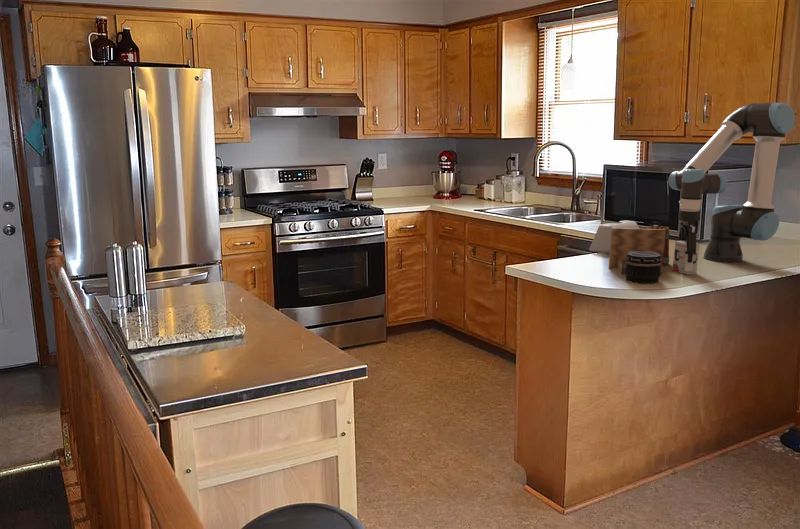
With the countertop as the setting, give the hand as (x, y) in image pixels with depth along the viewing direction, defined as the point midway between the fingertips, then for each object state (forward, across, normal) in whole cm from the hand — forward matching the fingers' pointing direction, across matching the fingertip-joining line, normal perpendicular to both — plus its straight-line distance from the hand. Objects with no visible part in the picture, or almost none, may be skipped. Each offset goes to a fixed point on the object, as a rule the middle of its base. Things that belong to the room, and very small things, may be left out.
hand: (684, 268), depth 275 cm
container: (+2, +19, -20) cm, 27 cm away
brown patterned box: (+2, +3, -18) cm, 18 cm away
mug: (+2, -19, -7) cm, 20 cm away
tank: (+2, -46, -17) cm, 49 cm away
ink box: (+2, 0, 0) cm, 2 cm away
